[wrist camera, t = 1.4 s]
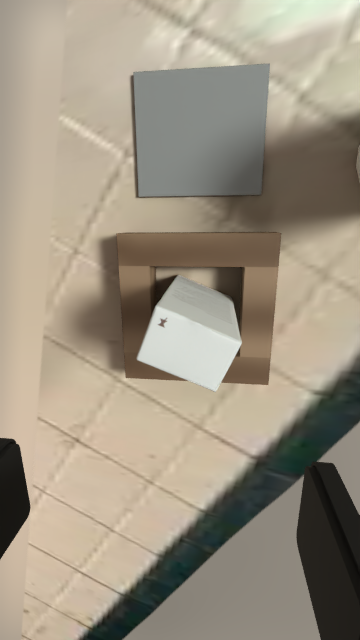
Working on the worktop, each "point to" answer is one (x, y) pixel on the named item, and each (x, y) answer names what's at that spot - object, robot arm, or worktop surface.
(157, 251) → the holder block
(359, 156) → the supplement can
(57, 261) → the worktop surface
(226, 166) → the rubber mat
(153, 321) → the skincare box
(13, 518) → the robot arm
